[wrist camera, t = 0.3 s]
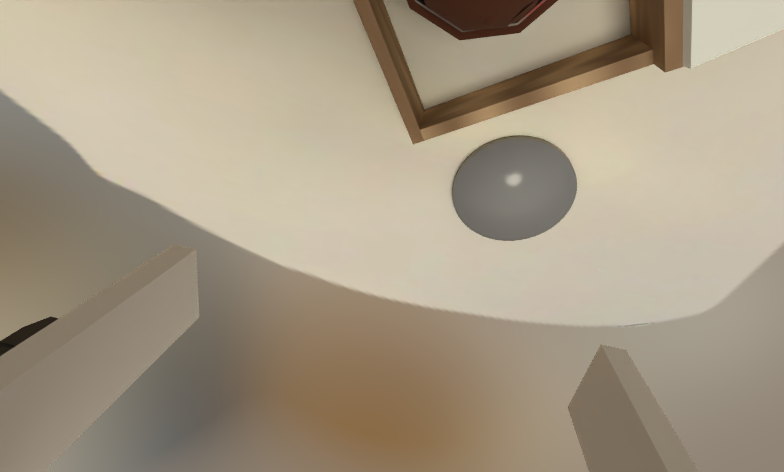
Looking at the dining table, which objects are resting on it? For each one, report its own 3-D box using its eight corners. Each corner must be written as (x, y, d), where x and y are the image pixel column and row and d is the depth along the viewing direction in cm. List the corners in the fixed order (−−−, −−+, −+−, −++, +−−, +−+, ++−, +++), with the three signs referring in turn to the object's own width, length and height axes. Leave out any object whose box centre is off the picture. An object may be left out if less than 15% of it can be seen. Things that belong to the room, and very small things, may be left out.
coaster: (526, 109, 34) (527, 112, 34) (599, 194, 38) (601, 198, 38) (429, 187, 41) (428, 191, 40) (500, 252, 45) (501, 257, 44)
